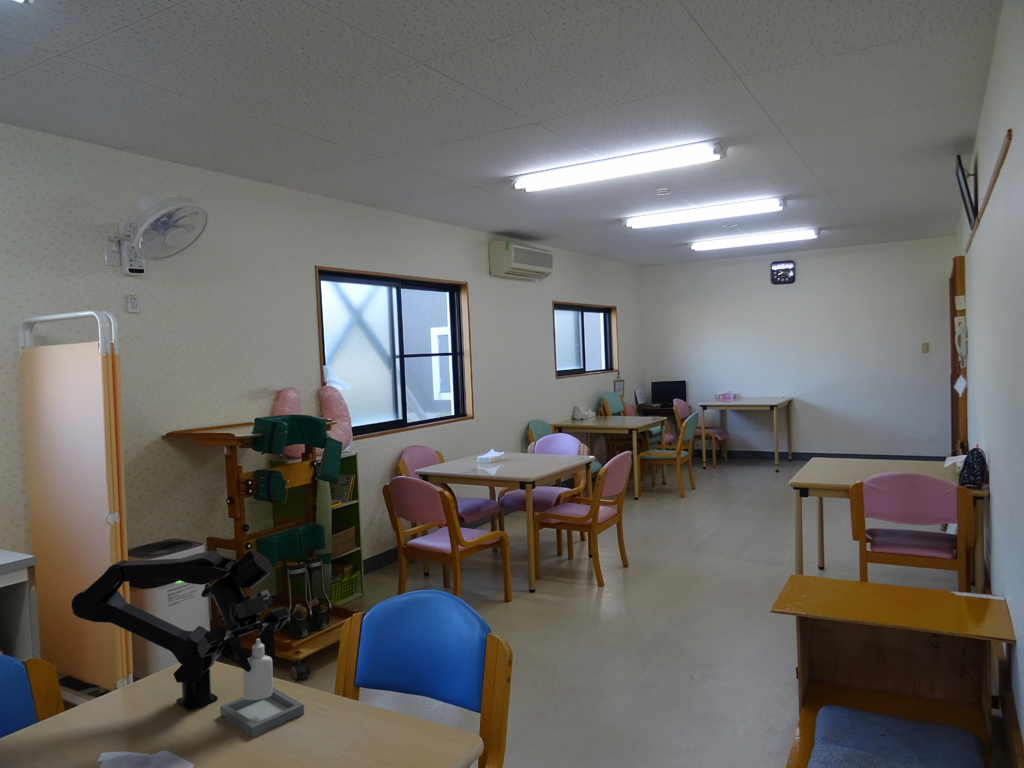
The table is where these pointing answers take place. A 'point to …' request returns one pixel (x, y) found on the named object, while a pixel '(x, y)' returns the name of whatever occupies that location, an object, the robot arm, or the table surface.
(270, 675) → the eye dropper bottle
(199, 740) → the table surface
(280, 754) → the table surface
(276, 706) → the gray rectangular tray
